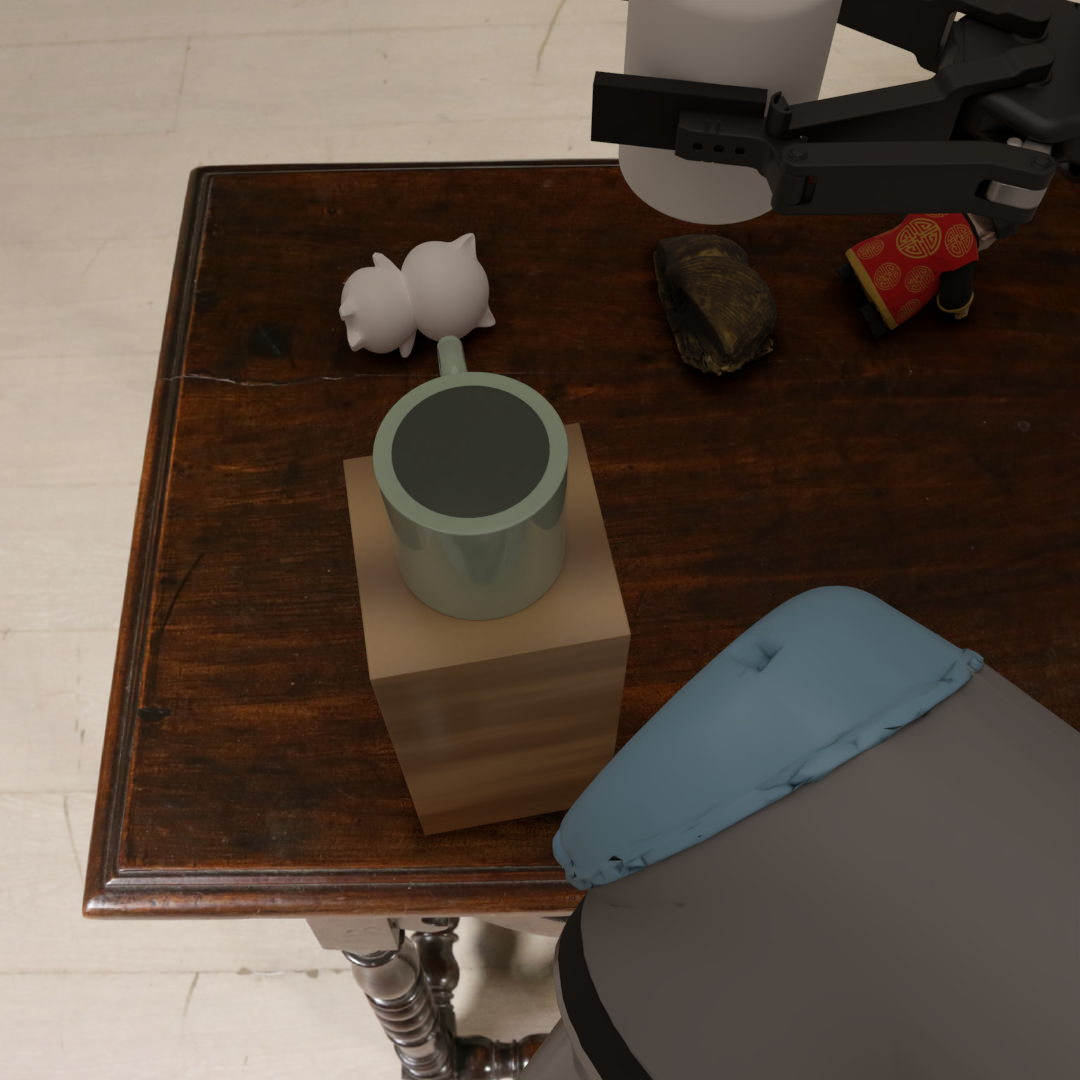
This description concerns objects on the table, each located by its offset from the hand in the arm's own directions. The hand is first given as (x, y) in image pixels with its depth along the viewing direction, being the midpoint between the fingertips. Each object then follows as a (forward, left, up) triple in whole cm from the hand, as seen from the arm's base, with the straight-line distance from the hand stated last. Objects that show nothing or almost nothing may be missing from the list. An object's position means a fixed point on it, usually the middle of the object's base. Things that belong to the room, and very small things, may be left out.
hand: (609, 33), depth 47 cm
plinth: (-13, +8, -43) cm, 46 cm away
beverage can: (-2, -4, -7) cm, 8 cm away
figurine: (+18, -32, -44) cm, 57 cm away
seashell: (+19, -15, -44) cm, 50 cm away
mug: (-11, +8, -17) cm, 22 cm away
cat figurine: (+23, +9, -44) cm, 50 cm away
